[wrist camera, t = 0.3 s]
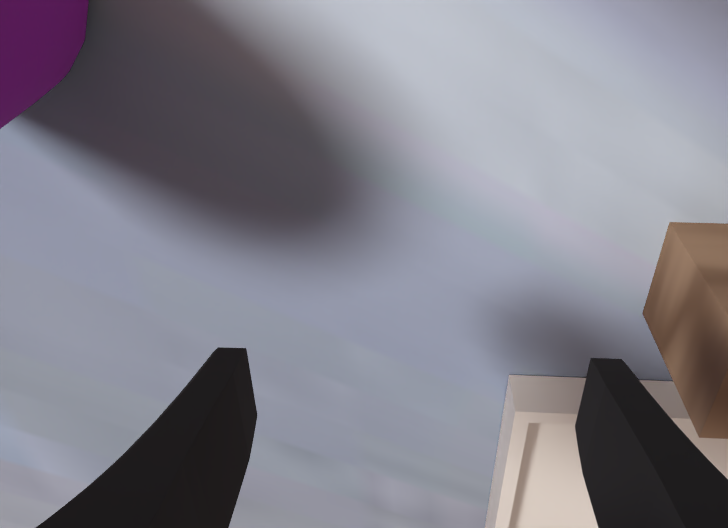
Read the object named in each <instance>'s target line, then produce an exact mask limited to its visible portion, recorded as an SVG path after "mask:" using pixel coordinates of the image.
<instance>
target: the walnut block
mask: <svg viewBox="0 0 728 528" xmlns="http://www.w3.org/2000/svg"><path fill="white" fill-rule="evenodd" d="M643 316H644V318H645V320H646V322H647V324H648V327H649V329H650V331H651V333H652V335H653V338H654V340H655V342H656V344H657V346H658V349H659V351H660V353H661V355H662V357H663V360H664V362H665V364H666V366H667V368H668V371H669V373H670V375H671V377H672V379H673V382H674V384H675V386H676V388H677V390H678V393H679V395H680V397H681V399H682V401H683V404H684V406H685V408H686V410H687V412H688V415H689V417H690V419H691V421H692V423H693V426H694V428H695V430H696V432H697V434H698V437H699V438H718V439H728V224H718V223H678V222H670V223H669V226H668V229H667V233H666V236H665V239H664V243H663V246H662V250H661V253H660V256H659V260H658V263H657V266H656V270H655V273H654V276H653V280H652V283H651V286H650V290H649V293H648V297H647V300H646V303H645V307H644V310H643Z"/></svg>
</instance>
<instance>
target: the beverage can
mask: <svg viewBox="0 0 728 528" xmlns="http://www.w3.org/2000/svg"><path fill="white" fill-rule="evenodd" d="M88 3H89V0H0V129H1V128H2V127H3V126H5V125H6V124H7V123H9V122H10V121H11V120H13V119H14V118H15V117H17V116H18V115H19V114H21V113H22V112H23V111H25V110H26V109H27V108H29V107H30V106H31V105H33V104H34V103H35V102H36V101H38V100H39V99H40V98H41V97H42V96H44V95H45V94H46V93H47V92H48V91H50V90H51V89H52V88H53V87H54V86H56V85H57V84H58V83H59V82H60V81H61V80H62V79H63V78H64V77H65V76H66V75H67V73H68V72H69V71H70V69H71V67H72V65H73V63H74V61H75V59H76V57H77V55H78V53H79V51H80V49H81V47H82V45H83V43H84V41H85V34H86V24H87V13H88Z"/></svg>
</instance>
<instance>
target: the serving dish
mask: <svg viewBox="0 0 728 528" xmlns="http://www.w3.org/2000/svg"><path fill="white" fill-rule="evenodd" d="M585 381H586V378H576V377H551V376H525V375H509V379H508V385H507V391H506V398H505V404H504V410H503V416H502V423H501V429H500V435H499V441H498V448H497V454H496V460H495V466H494V473H493V479H492V485H491V491H490V498H489V504H488V510H487V516H486V523H485V528H598V525H597V521H596V518H595V515H594V511H593V508H592V504H591V501H590V498H589V494H588V491H587V487H586V484H585V480H584V477H583V473H582V468H581V462H580V456H579V451H578V444H577V438H576V431H575V424H576V419H577V415H578V411H579V407H580V402H581V398H582V394H583V390H584V385H585ZM639 381H640V382H641V383H642V384H643V386H644V387H645V388H646V389H647V391H648V392H649V393H650V394H651V395H652V397H653V398H654V399H655V400H656V401H657V403H658V404H659V405H660V406H661V407H662V409H663V410H664V411H665V412H666V413H667V414H668V416H669V417H670V418H671V419H672V420H673V421H674V423H675V424H676V425H677V426H678V427H679V428H680V429H681V430H682V431H683V433H684V434H685V435H686V436H687V437H688V438H689V439H690V440H691V441H692V443H693V444H694V445H695V446H696V447H697V448H698V449H699V450H700V451H701V452H702V453H703V454H704V456H705V457H706V458H707V459H708V460H709V461H710V462H711V463H712V464H713V465H714V466H715V467H716V468H717V469H718V470H719V471H720V472H721V473H722V474H723V475H724V476H725V477H726V478H727V479H728V439H718V438H699V437H698V434H697V432H696V430H695V428H694V426H693V423H692V421H691V419H690V417H689V415H688V412H687V410H686V408H685V406H684V404H683V401H682V399H681V397H680V395H679V393H678V390H677V388H676V386H675V384H674V382H673V381H652V380H639Z"/></svg>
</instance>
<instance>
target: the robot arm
mask: <svg viewBox="0 0 728 528" xmlns="http://www.w3.org/2000/svg"><path fill="white" fill-rule="evenodd" d="M256 420H257V411H256V405H255V399H254V393H253V387H252V381H251V375H250V369H249V363H248V356H247V350H246V348H217V349H216V350H215V351H214V352H213V353H212V354H211V356H210V357H209V358H208V359H207V361H206V362H205V363H204V364H203V366H202V367H201V368H200V369H199V371H198V372H197V373H196V374H195V376H194V377H193V378H192V379H191V381H190V382H189V383H188V384H187V385H186V387H185V388H184V389H183V390H182V391H181V393H180V394H179V395H178V396H177V397H176V398H175V400H174V401H173V402H172V403H171V404H170V405H169V406H168V407H167V409H166V410H165V411H164V412H163V413H162V414H161V415H160V417H159V418H158V419H157V420H156V421H155V422H154V423H153V424H152V425H151V426H150V427H149V428H148V430H147V431H146V432H145V433H144V434H143V435H142V436H141V437H140V438H139V439H138V440H137V441H136V442H135V443H134V444H133V445H132V446H131V447H130V448H129V449H128V450H127V451H126V452H125V453H124V454H123V455H122V456H121V457H120V458H119V459H118V460H117V461H116V462H115V463H114V464H113V465H112V466H110V467H109V468H108V469H107V470H106V471H105V472H104V473H103V474H102V475H100V476H99V477H98V478H97V479H96V480H95V481H94V482H93V483H91V484H90V485H89V486H88V487H87V488H86V489H84V490H83V491H82V492H81V493H80V494H78V495H77V496H76V497H75V498H73V499H72V500H71V501H70V502H68V503H67V504H66V505H65V506H64V507H62V508H61V509H60V510H58V511H57V512H56V513H55V514H53V515H52V516H51V517H49V518H48V519H47V520H45V521H44V522H43V523H41V524H40V525H39V526H37V527H36V528H228V527H229V524H230V521H231V517H232V514H233V511H234V508H235V505H236V501H237V498H238V495H239V492H240V488H241V485H242V482H243V479H244V475H245V472H246V469H247V465H248V462H249V458H250V453H251V448H252V443H253V437H254V431H255V425H256ZM575 431H576V438H577V444H578V451H579V456H580V462H581V468H582V473H583V477H584V480H585V484H586V487H587V491H588V494H589V498H590V501H591V504H592V508H593V511H594V515H595V518H596V521H597V525H598V528H728V479H727V478H726V477H725V476H724V475H723V474H722V473H721V472H720V471H719V470H718V469H717V468H716V467H715V466H714V465H713V464H712V463H711V462H710V461H709V460H708V459H707V458H706V457H705V456H704V454H703V453H702V452H701V451H700V450H699V449H698V448H697V447H696V446H695V445H694V444H693V443H692V441H691V440H690V439H689V438H688V437H687V436H686V435H685V434H684V433H683V431H682V430H681V429H680V428H679V427H678V426H677V425H676V424H675V423H674V421H673V420H672V419H671V418H670V417H669V416H668V414H667V413H666V412H665V411H664V410H663V409H662V407H661V406H660V405H659V404H658V403H657V401H656V400H655V399H654V398H653V397H652V395H651V394H650V393H649V392H648V391H647V389H646V388H645V387H644V386H643V384H642V383H641V382H640V381H639V379H638V378H637V377H636V376H635V375H634V373H633V372H632V371H631V370H630V368H629V367H628V366H627V365H626V364H625V362H624V361H623V360H622V359H602V358H591V360H590V364H589V368H588V373H587V377H586V381H585V385H584V390H583V394H582V398H581V402H580V407H579V411H578V415H577V419H576V424H575Z"/></svg>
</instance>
